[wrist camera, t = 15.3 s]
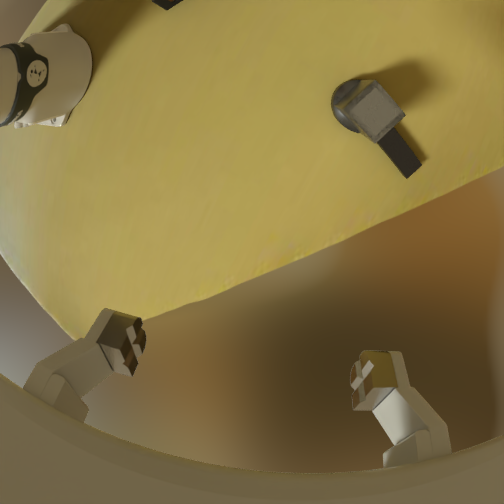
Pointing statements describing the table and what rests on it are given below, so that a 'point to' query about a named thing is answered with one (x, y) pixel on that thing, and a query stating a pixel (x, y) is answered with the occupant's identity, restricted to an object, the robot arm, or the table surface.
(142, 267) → the table surface
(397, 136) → the ratchet
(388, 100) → the socket
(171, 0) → the ammunition clip
